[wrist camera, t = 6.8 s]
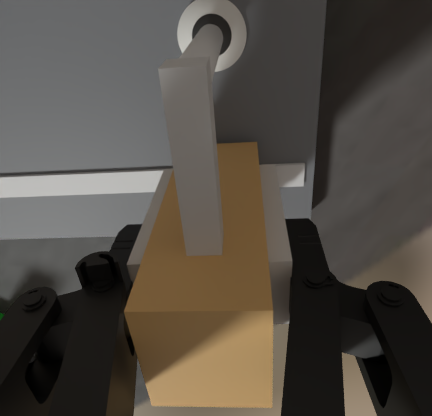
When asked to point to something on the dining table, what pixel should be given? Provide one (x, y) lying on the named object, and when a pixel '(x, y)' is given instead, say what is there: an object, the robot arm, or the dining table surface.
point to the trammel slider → (204, 256)
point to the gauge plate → (143, 103)
